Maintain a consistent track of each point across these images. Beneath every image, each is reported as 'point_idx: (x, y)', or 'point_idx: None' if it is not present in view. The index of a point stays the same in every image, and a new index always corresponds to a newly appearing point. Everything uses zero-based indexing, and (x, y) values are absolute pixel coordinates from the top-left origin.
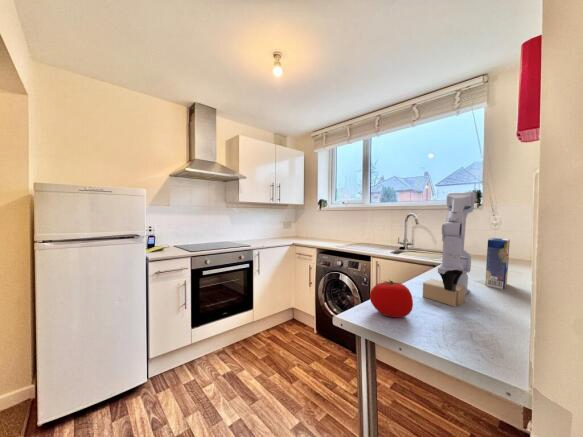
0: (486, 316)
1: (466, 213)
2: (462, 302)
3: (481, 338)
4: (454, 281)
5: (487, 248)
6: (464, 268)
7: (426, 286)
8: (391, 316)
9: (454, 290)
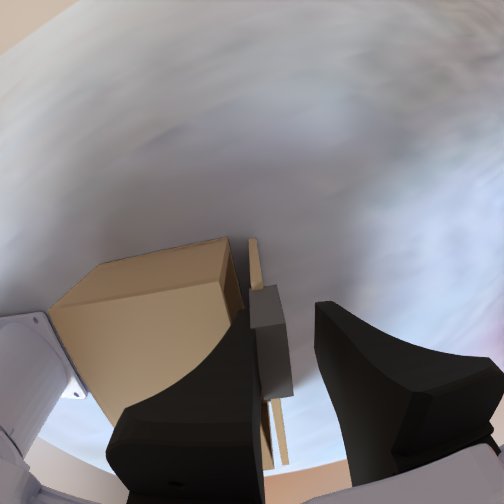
0: (219, 68)
1: None
2: (137, 256)
3: (475, 28)
4: (254, 366)
5: None
6: None
7: (285, 438)
8: None
9: (278, 293)
